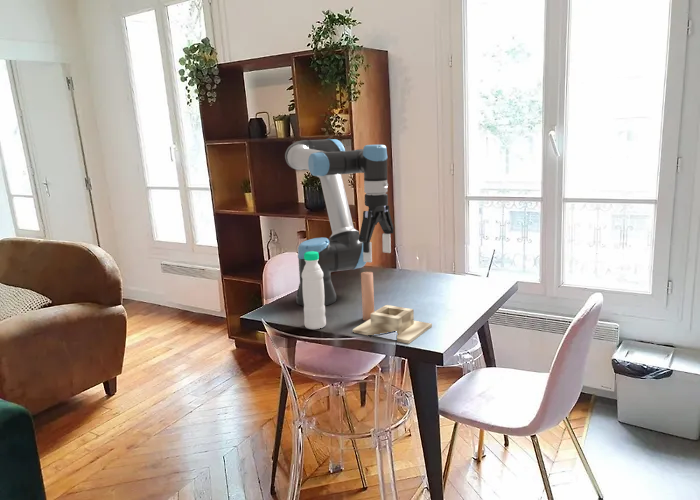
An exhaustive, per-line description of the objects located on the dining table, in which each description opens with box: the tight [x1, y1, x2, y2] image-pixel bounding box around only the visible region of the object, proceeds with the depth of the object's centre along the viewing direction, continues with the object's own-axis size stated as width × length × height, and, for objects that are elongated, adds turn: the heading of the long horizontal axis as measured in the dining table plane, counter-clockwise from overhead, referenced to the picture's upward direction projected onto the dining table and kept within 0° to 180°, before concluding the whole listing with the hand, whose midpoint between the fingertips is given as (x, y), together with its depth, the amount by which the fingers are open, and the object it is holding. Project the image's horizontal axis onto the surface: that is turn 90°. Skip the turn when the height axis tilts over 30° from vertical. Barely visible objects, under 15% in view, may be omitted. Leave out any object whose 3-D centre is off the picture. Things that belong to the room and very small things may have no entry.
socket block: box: [352, 304, 433, 344], centre depth 174 cm, size 20×16×6 cm
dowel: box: [360, 271, 375, 322], centre depth 183 cm, size 4×4×16 cm
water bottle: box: [302, 251, 327, 330], centre depth 177 cm, size 7×7×25 cm
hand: (377, 257), depth 181 cm, fingers open, 13 cm apart
